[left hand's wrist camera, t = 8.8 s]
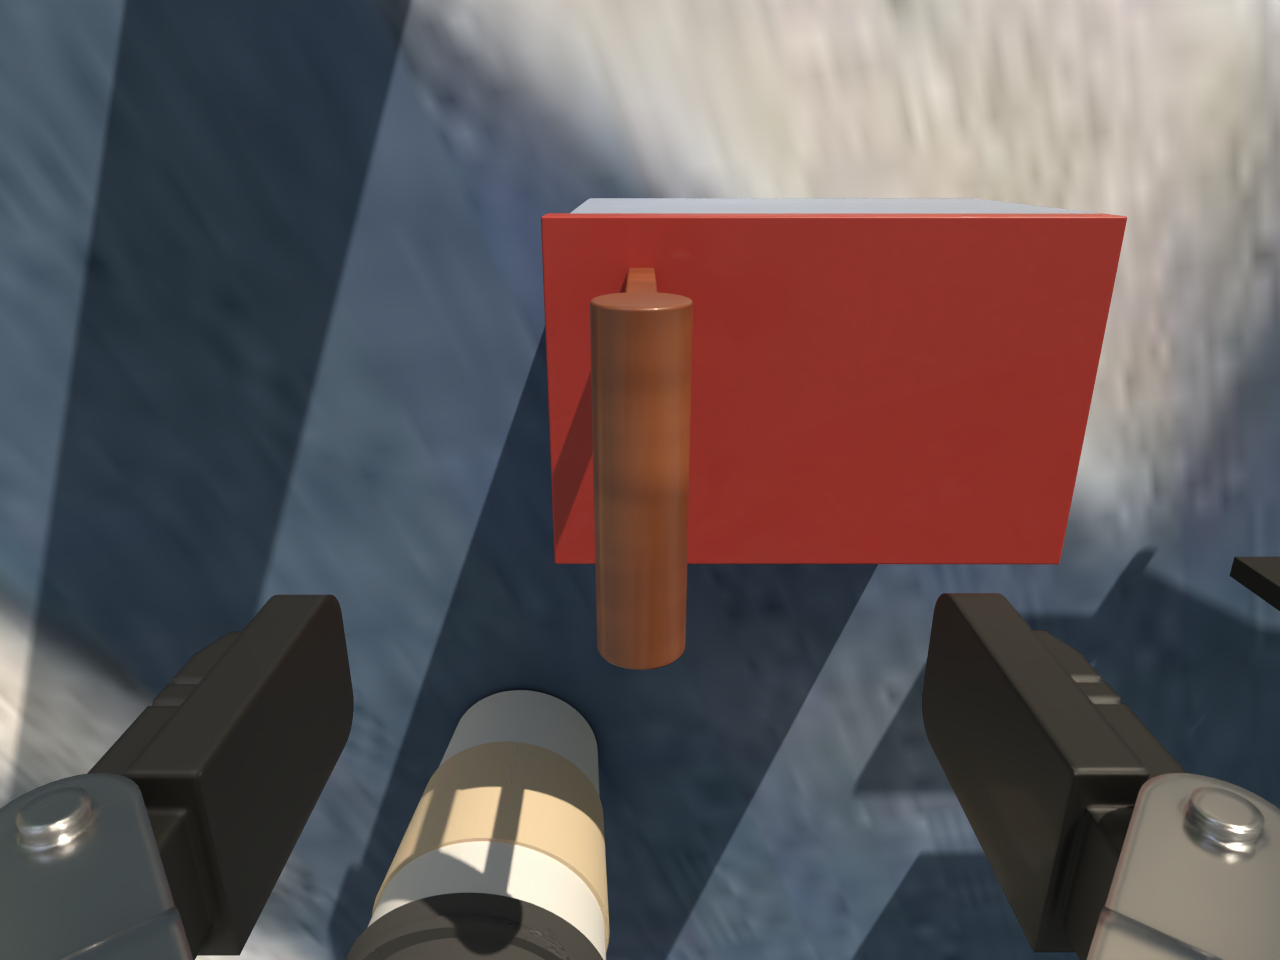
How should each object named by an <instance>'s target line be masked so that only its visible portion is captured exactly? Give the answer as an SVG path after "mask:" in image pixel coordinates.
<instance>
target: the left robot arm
mask: <svg viewBox="0 0 1280 960" xmlns="http://www.w3.org/2000/svg"><path fill="white" fill-rule="evenodd" d="M353 704H354V702H353V690H352V683H351V676H350V669H349V662H348V655H347V648H346V641H345V634H344V627H343V620H342V613H341V608H340V605H339V602H338V600H337V599H336V597H335V596H333V595H274V596H273V597H271V598H270V599H269V600H268V602H267V603H266V604H265V605H264V606H263V607H262V609H261V610H260V611H259V612H258V613H257V615H256V616H255V617H254V618H253V619H252V621H251V622H250V623H249V624H248V625H247V626H246V628H245V629H244V630H243V631H242V632H230V633H228V634H227V635H225V636H223V637H222V638H220V639H218V640H217V641H215V642H213V643H212V644H210V645H209V646H207V647H205V648H204V649H202V650H200V651H199V652H197V653H196V654H195V655H194V656H193V657H192V658H191V659H190V660H189V661H188V662H187V663H186V665H185V666H184V667H183V668H182V669H181V670H180V671H179V672H178V673H177V675H176V676H175V677H174V678H173V679H172V684H168V685H167V686H166V687H165V688H164V689H163V690H162V691H161V692H160V693H159V695H158V696H157V697H156V698H155V699H154V700H153V706H148V707H147V708H146V709H145V710H144V711H143V712H142V713H141V715H140V716H139V717H138V718H137V719H136V720H135V721H134V722H133V723H132V725H131V726H130V727H129V728H128V729H127V730H126V731H125V732H124V733H123V735H122V736H121V737H120V738H119V739H118V740H117V741H116V742H115V743H114V745H113V746H112V747H111V748H110V749H109V750H108V751H107V752H106V753H105V755H104V756H103V757H102V758H101V759H100V760H99V761H98V762H97V763H96V765H95V766H94V767H93V768H92V769H91V770H90V771H89V772H88V774H83V775H77V776H73V777H68V778H64V779H61V780H58V781H55V782H51V783H49V784H46V785H44V786H41V787H39V788H36V789H34V790H32V791H30V792H28V793H26V794H24V795H22V796H20V797H18V798H17V799H15V800H13V801H12V802H10V803H8V804H7V805H5V806H4V807H3V808H1V809H0V960H195V958H196V957H197V955H240V953H241V951H242V949H243V947H244V946H245V944H246V942H247V940H248V938H249V936H250V934H251V932H252V930H253V928H254V926H255V924H256V922H257V920H258V918H259V916H260V914H261V912H262V910H263V908H264V906H265V904H266V902H267V900H268V898H269V896H270V894H271V892H272V890H273V888H274V886H275V884H276V882H277V880H278V878H279V876H280V874H281V872H282V870H283V868H284V866H285V864H286V862H287V860H288V858H289V856H290V854H291V852H292V850H293V848H294V846H295V844H296V842H297V840H298V838H299V836H300V834H301V832H302V830H303V828H304V826H305V824H306V822H307V820H308V818H309V816H310V814H311V812H312V810H313V808H314V806H315V804H316V802H317V800H318V798H319V796H320V794H321V792H322V790H323V788H324V786H325V784H326V782H327V780H328V778H329V776H330V774H331V773H332V771H333V769H334V767H335V765H336V763H337V761H338V759H339V757H340V755H341V753H342V751H343V749H344V747H345V745H346V742H347V740H348V737H349V734H350V730H351V725H352V719H353ZM922 710H923V719H924V725H925V730H926V733H927V736H928V739H929V742H930V744H931V746H932V748H933V750H934V752H935V754H936V756H937V758H938V760H939V762H940V764H941V766H942V768H943V770H944V772H945V774H946V776H947V778H948V780H949V782H950V784H951V786H952V788H953V790H954V792H955V794H956V796H957V798H958V800H959V802H960V804H961V806H962V808H963V810H964V812H965V814H966V816H967V818H968V820H969V822H970V824H971V826H972V828H973V830H974V832H975V834H976V836H977V838H978V840H979V842H980V844H981V846H982V848H983V850H984V853H985V855H986V857H987V859H988V861H989V863H990V865H991V867H992V869H993V871H994V873H995V875H996V877H997V879H998V881H999V883H1000V885H1001V887H1002V889H1003V891H1004V893H1005V895H1006V897H1007V899H1008V901H1009V903H1010V905H1011V907H1012V909H1013V911H1014V913H1015V915H1016V917H1017V919H1018V921H1019V923H1020V925H1021V927H1022V929H1023V931H1024V933H1025V935H1026V937H1027V939H1028V941H1029V943H1030V945H1031V947H1032V949H1033V951H1034V952H1076V953H1077V955H1078V957H1079V959H1080V960H1280V809H1279V808H1277V807H1276V806H1275V805H1273V804H1272V803H1270V802H1268V801H1267V800H1265V799H1263V798H1262V797H1260V796H1258V795H1256V794H1254V793H1252V792H1250V791H1248V790H1246V789H1244V788H1241V787H1239V786H1236V785H1234V784H1231V783H1229V782H1225V781H1222V780H1219V779H1216V778H1212V777H1207V776H1203V775H1197V774H1189V773H1187V772H1186V771H1185V770H1184V769H1183V768H1182V767H1181V766H1180V764H1179V763H1178V762H1177V761H1176V760H1175V759H1174V758H1173V757H1172V756H1171V754H1170V753H1169V752H1168V751H1167V750H1166V749H1165V748H1164V747H1163V745H1162V744H1161V743H1160V742H1159V741H1158V740H1157V739H1156V738H1155V736H1154V735H1153V734H1152V733H1151V732H1150V731H1149V730H1148V729H1147V727H1146V726H1145V725H1144V724H1143V723H1142V722H1141V721H1140V720H1139V718H1138V717H1137V716H1136V715H1135V714H1134V713H1133V712H1132V711H1131V710H1130V708H1129V707H1128V706H1127V705H1126V704H1121V698H1120V697H1119V696H1118V695H1117V694H1116V693H1115V692H1114V690H1113V689H1112V688H1111V687H1110V686H1109V685H1108V684H1107V683H1103V682H1102V677H1101V676H1100V675H1099V674H1098V672H1097V671H1096V670H1095V669H1094V668H1093V667H1092V666H1091V665H1090V663H1089V662H1088V661H1087V660H1086V659H1085V658H1084V657H1083V656H1082V655H1081V653H1080V652H1078V651H1077V650H1075V649H1074V648H1072V647H1070V646H1069V645H1067V644H1065V643H1064V642H1062V641H1061V640H1059V639H1057V638H1056V637H1054V636H1052V635H1051V634H1049V633H1048V632H1046V631H1044V630H1032V629H1031V628H1030V627H1029V625H1028V624H1027V623H1026V622H1025V621H1024V619H1023V618H1022V617H1021V616H1020V615H1019V613H1018V612H1017V611H1016V610H1015V609H1014V607H1013V606H1012V605H1011V604H1010V603H1009V601H1008V600H1007V599H1006V598H1005V597H1004V596H1003V595H1001V594H997V593H944V594H942V595H940V596H939V598H938V600H937V602H936V605H935V609H934V615H933V622H932V629H931V636H930V643H929V650H928V658H927V665H926V672H925V679H924V686H923V694H922Z"/></svg>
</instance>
